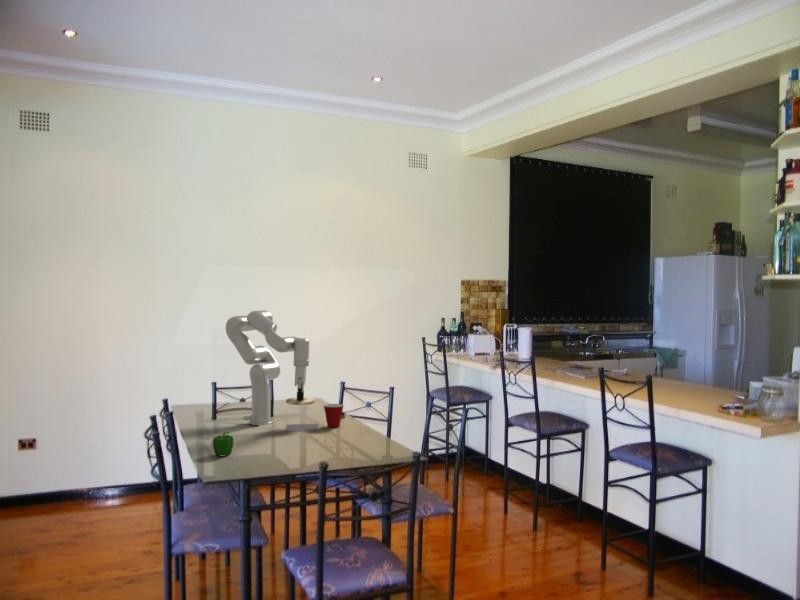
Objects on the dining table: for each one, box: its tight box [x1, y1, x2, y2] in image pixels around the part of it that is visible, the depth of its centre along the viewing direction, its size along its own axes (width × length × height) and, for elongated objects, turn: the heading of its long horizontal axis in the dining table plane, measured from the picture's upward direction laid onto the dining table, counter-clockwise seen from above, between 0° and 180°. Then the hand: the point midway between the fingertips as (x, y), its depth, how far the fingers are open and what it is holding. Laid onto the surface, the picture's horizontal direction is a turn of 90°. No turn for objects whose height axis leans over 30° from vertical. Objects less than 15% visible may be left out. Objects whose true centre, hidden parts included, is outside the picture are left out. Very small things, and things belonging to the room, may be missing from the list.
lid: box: [285, 387, 315, 406], centre depth 304 cm, size 14×14×7 cm
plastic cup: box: [322, 403, 345, 429], centre depth 307 cm, size 11×11×12 cm
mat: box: [283, 423, 319, 433], centre depth 304 cm, size 16×16×1 cm
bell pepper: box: [212, 430, 234, 456], centre depth 256 cm, size 8×8×10 cm
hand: (300, 398), depth 304 cm, fingers closed on lid, 3 cm apart
